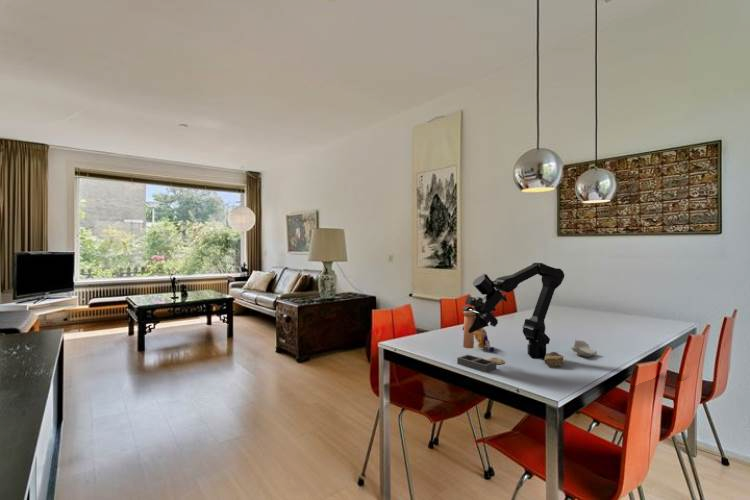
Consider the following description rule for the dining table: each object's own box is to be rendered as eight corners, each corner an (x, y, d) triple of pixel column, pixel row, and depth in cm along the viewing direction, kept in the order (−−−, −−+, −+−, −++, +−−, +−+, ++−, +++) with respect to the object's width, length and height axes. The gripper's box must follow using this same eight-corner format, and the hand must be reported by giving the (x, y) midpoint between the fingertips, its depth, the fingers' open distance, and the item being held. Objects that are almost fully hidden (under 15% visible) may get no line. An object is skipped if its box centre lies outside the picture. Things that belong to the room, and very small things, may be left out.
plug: (472, 345, 149) (473, 311, 149) (475, 348, 144) (477, 313, 144) (461, 345, 149) (462, 310, 149) (463, 348, 144) (465, 312, 144)
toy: (493, 340, 159) (481, 318, 170) (478, 345, 159) (467, 323, 171) (497, 356, 166) (485, 334, 177) (483, 361, 166) (472, 339, 178)
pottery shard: (580, 359, 151) (580, 347, 151) (562, 352, 162) (561, 340, 162) (602, 357, 153) (601, 345, 153) (582, 350, 164) (582, 339, 164)
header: (467, 360, 151) (467, 354, 151) (496, 368, 141) (496, 362, 141) (457, 363, 147) (457, 357, 147) (485, 372, 137) (485, 365, 137)
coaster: (501, 358, 153) (501, 357, 153) (506, 364, 145) (506, 363, 145) (482, 358, 154) (482, 357, 154) (486, 364, 146) (486, 363, 146)
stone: (538, 358, 155) (540, 347, 155) (557, 363, 153) (559, 352, 153) (543, 365, 142) (545, 353, 142) (563, 371, 140) (566, 358, 140)
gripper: (465, 286, 156) (442, 314, 153) (490, 291, 138) (465, 322, 135) (482, 303, 159) (459, 331, 156) (508, 311, 141) (484, 341, 138)
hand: (466, 331), depth 146 cm, fingers closed on plug, 4 cm apart
